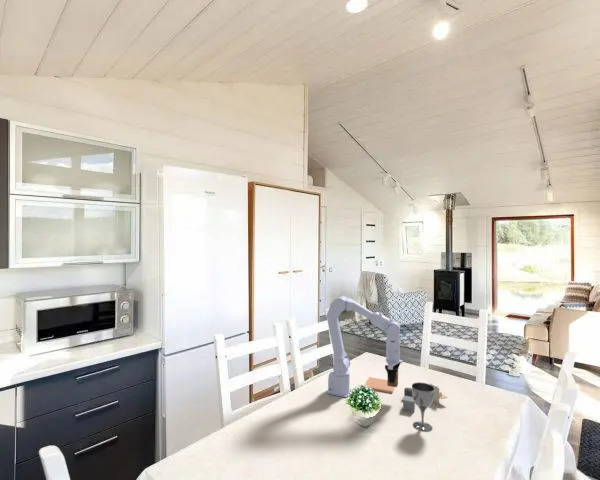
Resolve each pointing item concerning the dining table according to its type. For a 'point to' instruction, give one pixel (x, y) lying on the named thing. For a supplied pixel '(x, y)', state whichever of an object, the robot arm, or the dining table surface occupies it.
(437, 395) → the architectural model
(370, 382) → the terracotta tile
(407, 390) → the rubber cylinder
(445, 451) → the dining table surface
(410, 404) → the grey cube
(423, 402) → the wine glass
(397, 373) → the walnut block
